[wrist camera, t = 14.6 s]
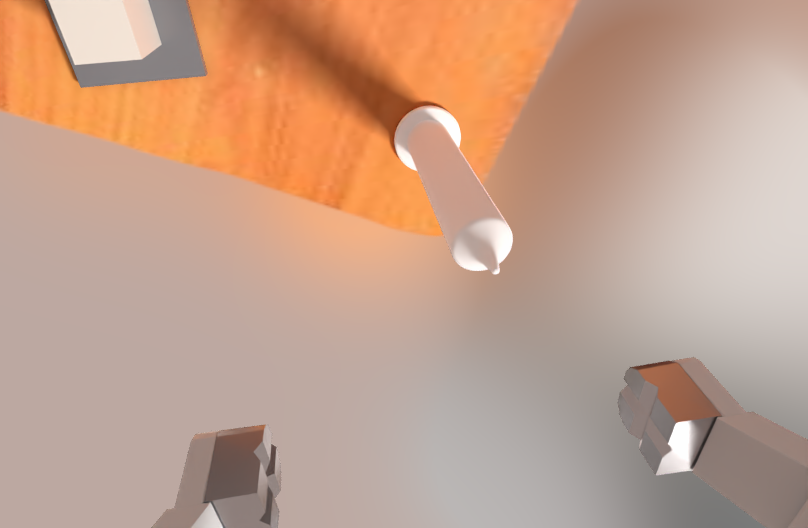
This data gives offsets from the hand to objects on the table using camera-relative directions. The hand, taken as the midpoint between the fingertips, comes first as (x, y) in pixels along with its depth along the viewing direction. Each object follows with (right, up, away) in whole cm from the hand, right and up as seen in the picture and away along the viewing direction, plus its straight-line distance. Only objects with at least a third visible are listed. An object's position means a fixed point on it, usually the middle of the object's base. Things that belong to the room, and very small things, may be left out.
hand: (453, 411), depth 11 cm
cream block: (-25, +24, +31) cm, 47 cm away
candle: (+1, +17, +42) cm, 45 cm away
